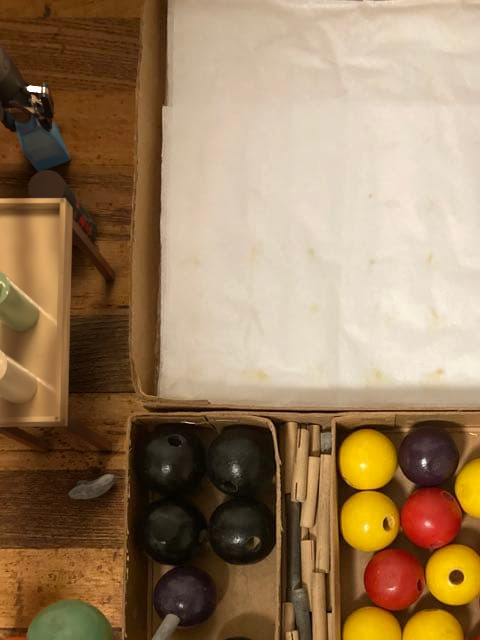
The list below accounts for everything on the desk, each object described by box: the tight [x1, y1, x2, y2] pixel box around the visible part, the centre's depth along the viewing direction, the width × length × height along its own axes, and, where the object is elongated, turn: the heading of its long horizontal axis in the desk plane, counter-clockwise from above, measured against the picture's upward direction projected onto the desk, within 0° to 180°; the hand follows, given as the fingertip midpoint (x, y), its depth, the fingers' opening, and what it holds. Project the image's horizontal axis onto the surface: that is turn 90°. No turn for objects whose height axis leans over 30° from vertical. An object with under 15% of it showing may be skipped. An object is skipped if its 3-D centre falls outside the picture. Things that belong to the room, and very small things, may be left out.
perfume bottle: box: [9, 107, 72, 173], centre depth 146 cm, size 6×6×12 cm
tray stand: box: [0, 197, 116, 453], centre depth 136 cm, size 14×34×25 cm, turn 1°
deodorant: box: [27, 169, 98, 247], centre depth 143 cm, size 6×6×15 cm
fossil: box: [68, 473, 117, 500], centre depth 144 cm, size 8×4×5 cm, turn 112°
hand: (31, 126), depth 145 cm, fingers closed on perfume bottle, 5 cm apart
